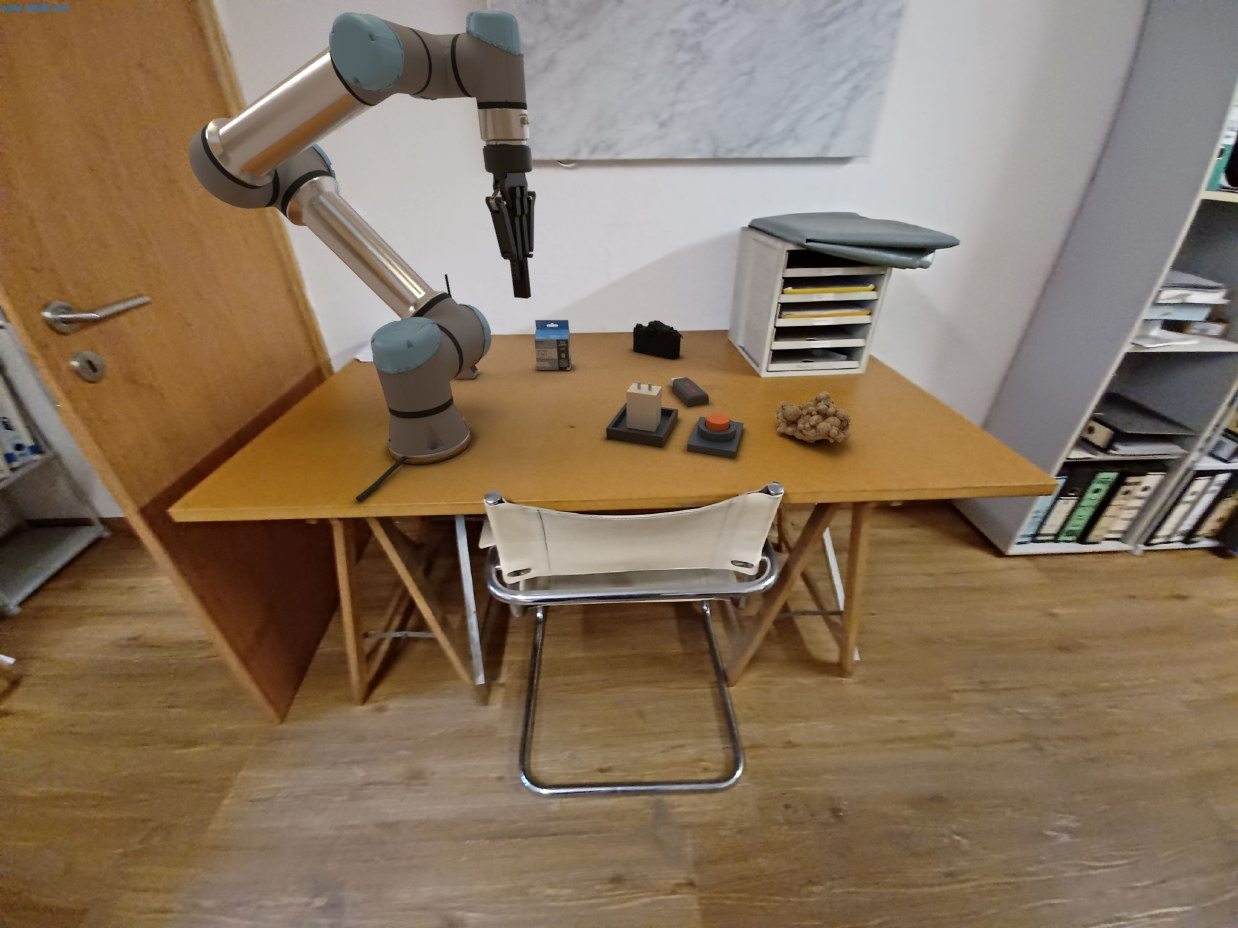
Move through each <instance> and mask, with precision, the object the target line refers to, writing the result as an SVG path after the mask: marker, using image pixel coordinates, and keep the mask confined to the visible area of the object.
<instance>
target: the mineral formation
mask: <svg viewBox="0 0 1238 928" xmlns="http://www.w3.org/2000/svg"><path fill="white" fill-rule="evenodd" d="M779 403H780V404H779V407H778V408H776V409H775V413H774V415H773V416H774V417H775V418H776V420H778V422H779V426H778V428H776V431H777V433H781V434H785V435H788V436H794V437H795V438H796V439H799V440H803V441H804V442H806V443H809V444H814V443H815V442H816V441H818V440H822V439H823V440H828V441H829V443H830V444H832V443H834V442H835V441H836V442H838V443H841V442H842V441H847V440H849V439H850V438H851V431H850V429H849V428H850V427H851V424H850V423H851V420H852V418H851V417H850V415H849V413H847V412H846V410H845V409H844V408H837V406H836V404H835V400H834V398H832V396H831V394H830V393H829V392H828V391H824V390H822V391H821V392H819V393H818V394H817V396H815V398H814V399H810V400H808V401H804V402H803V403H802V404H801V405H800V404H797V405H796V404H795V403H793V402H790V403H789V402H788V401H787V400H781V401H780V402H779Z"/></svg>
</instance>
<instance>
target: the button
mask: <svg viewBox="0 0 1238 928" xmlns="http://www.w3.org/2000/svg"><path fill="white" fill-rule="evenodd" d="M706 417H707V419H706V427H707V428H708V429H710V430H713V431H726V430H727V429H728V428H729V421H730V420H731V419H730V417H729V416H728V415H726V414H723V413H716V412H715V413H710V414H708V415H707V416H706Z"/></svg>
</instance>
